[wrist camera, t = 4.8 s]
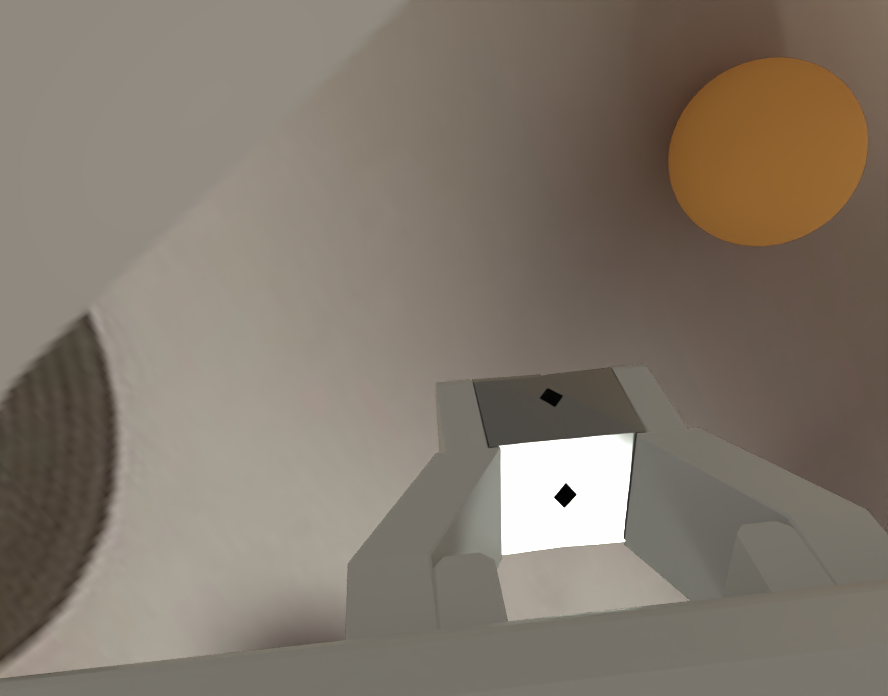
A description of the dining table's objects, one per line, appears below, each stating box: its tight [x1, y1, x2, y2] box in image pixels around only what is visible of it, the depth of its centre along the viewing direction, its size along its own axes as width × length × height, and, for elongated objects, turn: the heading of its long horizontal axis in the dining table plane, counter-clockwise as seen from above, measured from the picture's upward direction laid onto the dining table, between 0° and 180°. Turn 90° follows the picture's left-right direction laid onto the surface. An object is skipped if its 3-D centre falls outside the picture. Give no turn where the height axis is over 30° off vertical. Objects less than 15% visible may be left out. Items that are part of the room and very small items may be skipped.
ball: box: [668, 57, 868, 246], centre depth 22 cm, size 6×6×6 cm
